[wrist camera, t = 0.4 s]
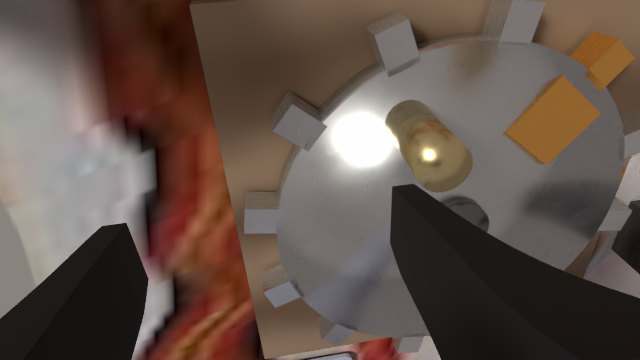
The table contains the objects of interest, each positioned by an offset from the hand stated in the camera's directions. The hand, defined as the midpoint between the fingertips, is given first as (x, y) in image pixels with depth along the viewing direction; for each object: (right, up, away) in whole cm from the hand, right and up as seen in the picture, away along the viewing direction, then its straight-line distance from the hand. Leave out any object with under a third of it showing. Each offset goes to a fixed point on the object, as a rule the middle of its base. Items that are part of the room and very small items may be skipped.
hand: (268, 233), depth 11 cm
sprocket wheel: (+8, 0, +11) cm, 14 cm away
